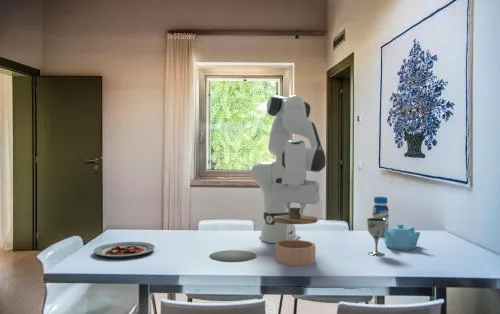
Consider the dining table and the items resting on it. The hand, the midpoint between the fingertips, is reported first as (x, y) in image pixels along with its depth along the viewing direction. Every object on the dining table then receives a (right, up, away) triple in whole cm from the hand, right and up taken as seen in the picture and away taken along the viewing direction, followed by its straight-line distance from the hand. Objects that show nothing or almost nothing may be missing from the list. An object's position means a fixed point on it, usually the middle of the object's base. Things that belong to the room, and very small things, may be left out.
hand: (295, 213), depth 169 cm
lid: (0, -3, 0) cm, 3 cm away
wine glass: (+36, -19, +11) cm, 42 cm away
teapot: (+51, -19, +23) cm, 59 cm away
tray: (-25, -19, +5) cm, 32 cm away
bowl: (0, -19, 0) cm, 19 cm away
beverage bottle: (+51, -19, +53) cm, 76 cm away
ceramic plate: (-73, -19, +12) cm, 76 cm away
